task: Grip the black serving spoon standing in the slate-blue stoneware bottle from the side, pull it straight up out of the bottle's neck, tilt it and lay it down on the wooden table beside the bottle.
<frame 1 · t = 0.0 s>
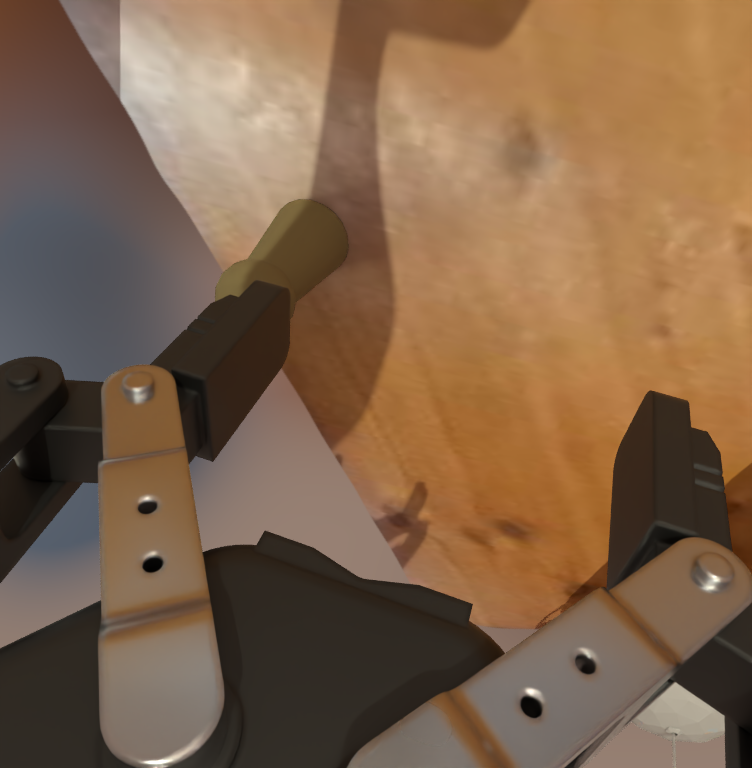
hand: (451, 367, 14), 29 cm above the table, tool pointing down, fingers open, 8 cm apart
cork: (312, 236, 48), on the table
french press: (659, 559, 57), on the table
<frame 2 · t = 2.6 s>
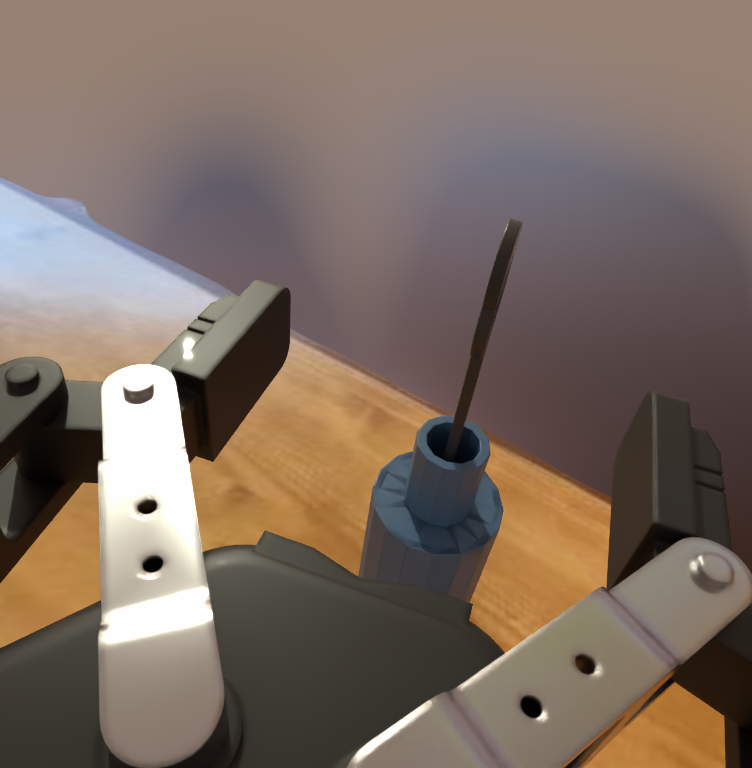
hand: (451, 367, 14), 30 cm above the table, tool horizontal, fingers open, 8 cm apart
bottle: (407, 608, 42), on the table
spoon: (408, 604, 42), resting on bottle
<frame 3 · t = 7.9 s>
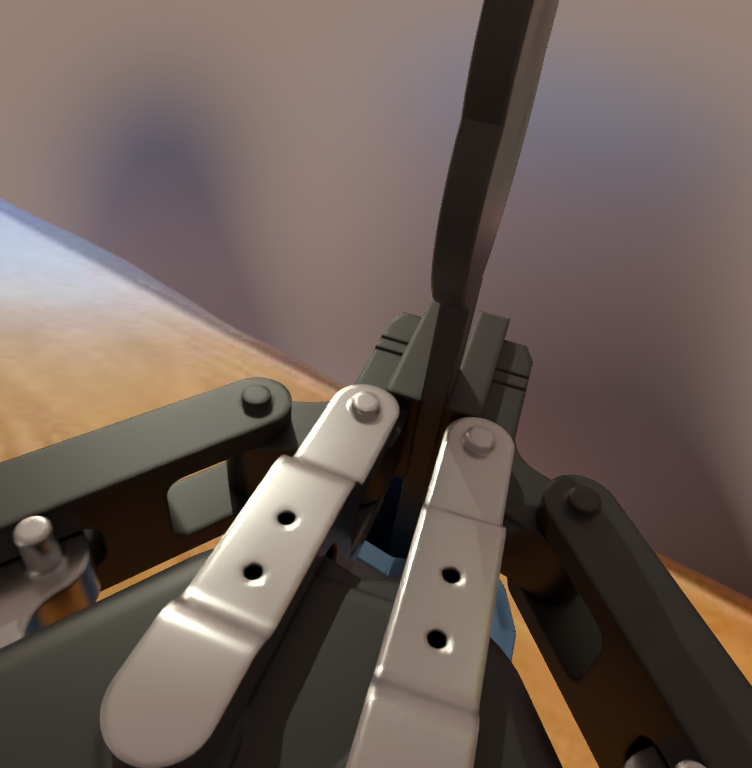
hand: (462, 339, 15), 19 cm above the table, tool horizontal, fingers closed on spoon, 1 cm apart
bottle: (353, 764, 25), on the table
spoon: (354, 759, 25), point 1 cm above the table, touching bottle, gripper
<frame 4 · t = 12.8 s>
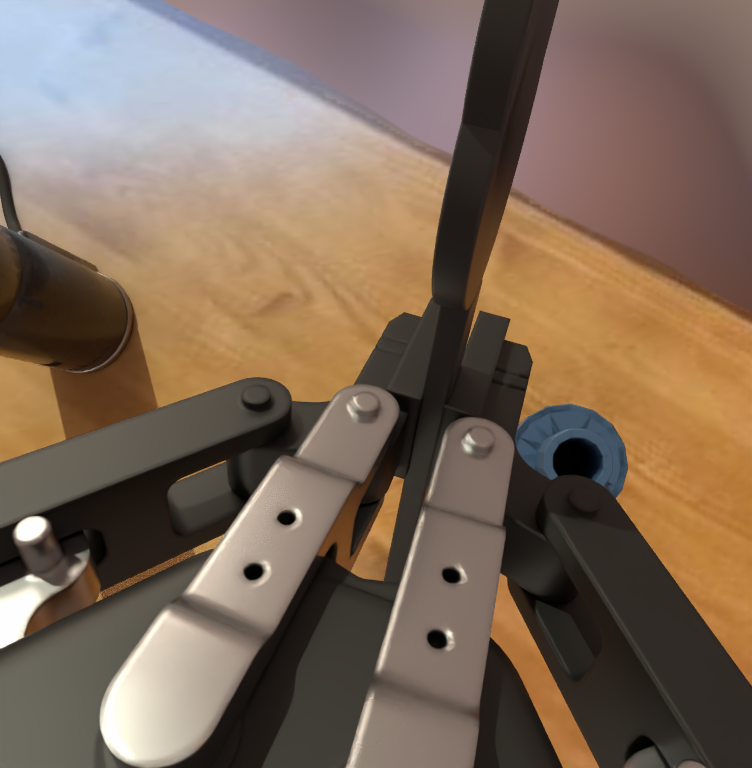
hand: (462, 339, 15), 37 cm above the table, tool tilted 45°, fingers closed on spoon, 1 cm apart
bottle: (546, 461, 50), on the table
spoon: (355, 759, 25), point 26 cm above the table, tilted 44°, touching gripper
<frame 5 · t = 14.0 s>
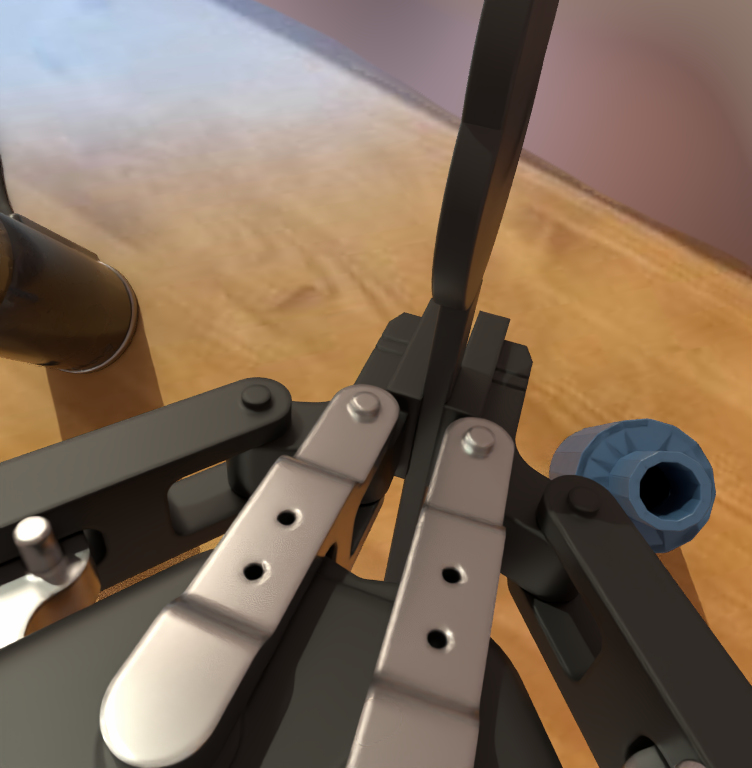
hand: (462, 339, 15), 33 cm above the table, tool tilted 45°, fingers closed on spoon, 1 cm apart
bottle: (599, 476, 45), on the table
spoon: (355, 759, 25), point 21 cm above the table, tilted 45°, touching gripper
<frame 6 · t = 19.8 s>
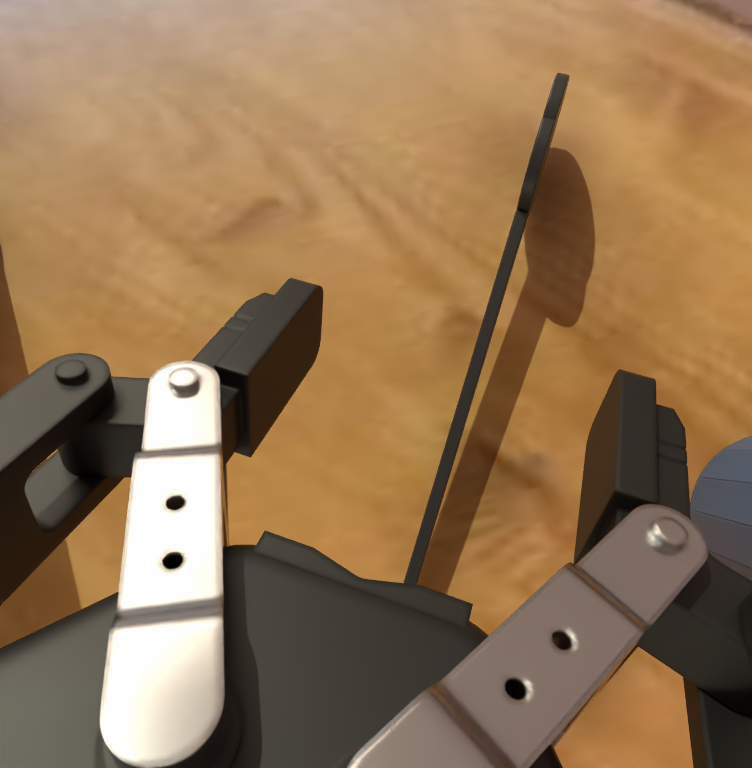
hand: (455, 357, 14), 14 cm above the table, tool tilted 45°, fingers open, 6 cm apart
spoon: (368, 722, 26), point 1 cm above the table, tilted 86°
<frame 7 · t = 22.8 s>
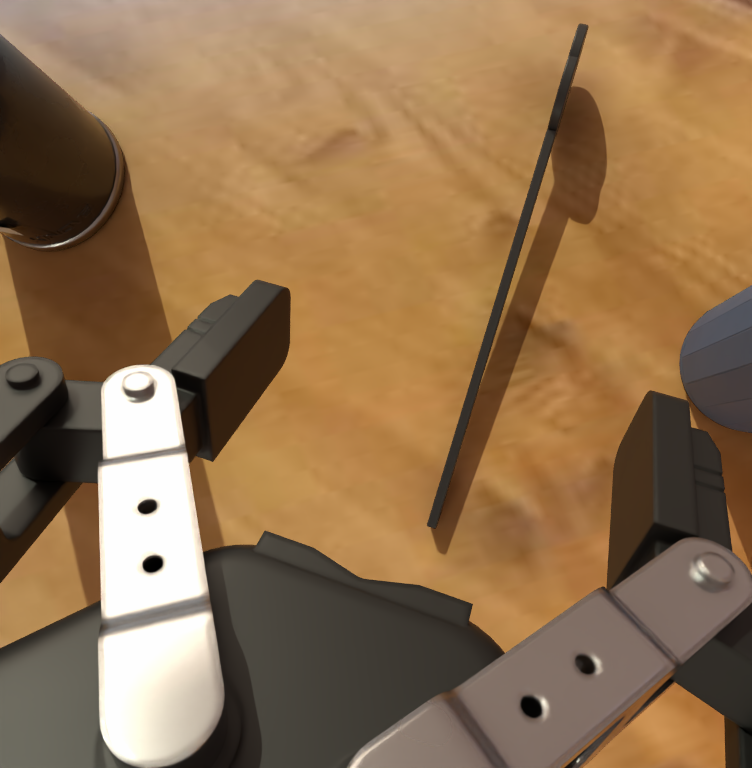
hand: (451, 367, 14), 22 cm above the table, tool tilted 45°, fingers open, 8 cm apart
bottle: (750, 365, 33), on the table
spoon: (431, 525, 34), point 1 cm above the table, tilted 86°
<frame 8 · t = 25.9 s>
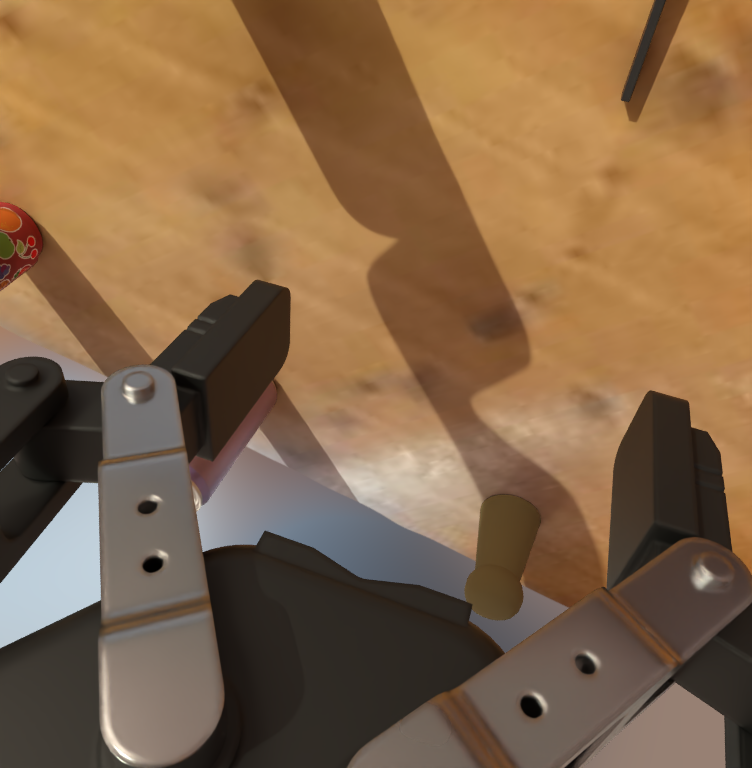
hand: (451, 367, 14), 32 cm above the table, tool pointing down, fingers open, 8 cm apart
spoon: (625, 98, 38), point 1 cm above the table, tilted 86°
beverage can: (253, 382, 64), on the table
cork: (510, 514, 64), on the table
smoothie: (19, 228, 62), on the table
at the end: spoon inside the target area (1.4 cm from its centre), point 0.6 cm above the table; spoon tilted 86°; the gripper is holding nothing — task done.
